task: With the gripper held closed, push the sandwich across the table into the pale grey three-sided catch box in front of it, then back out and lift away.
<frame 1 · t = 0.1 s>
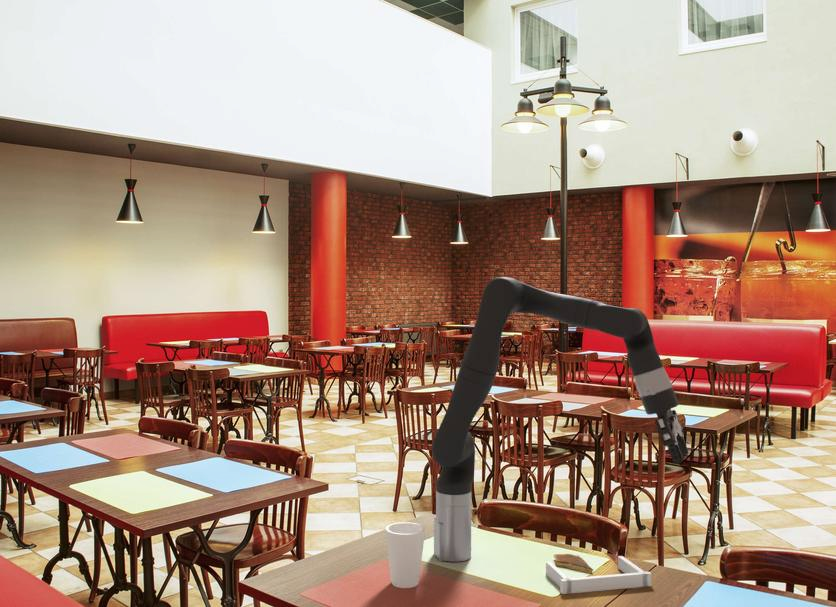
hand: (681, 458, 168), 31 cm above the table, tool tilted 20°, fingers open, 8 cm apart
foam cup: (405, 583, 176), on the table
sandwich: (575, 566, 189), on the table
catch box: (593, 578, 179), on the table
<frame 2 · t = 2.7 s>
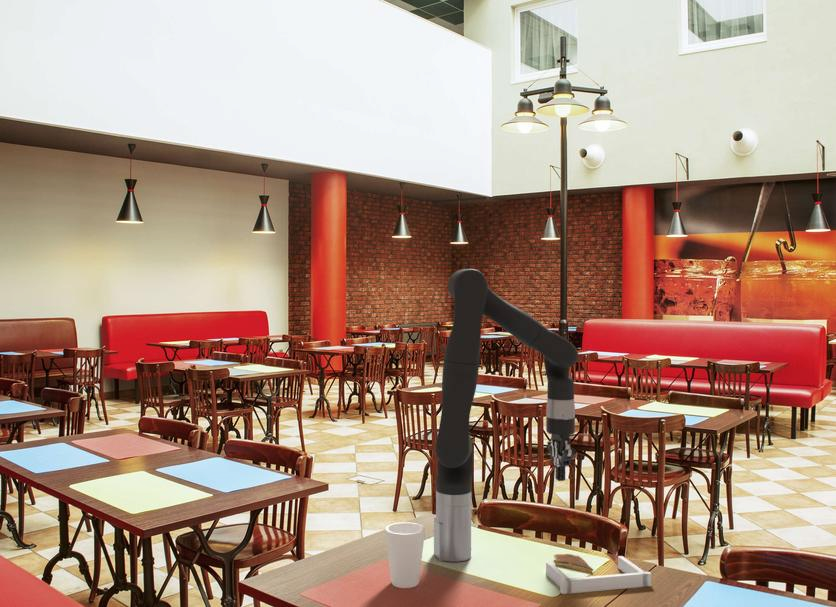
hand: (560, 480, 198), 19 cm above the table, tool pointing down, fingers closed
nothing on the table moved.
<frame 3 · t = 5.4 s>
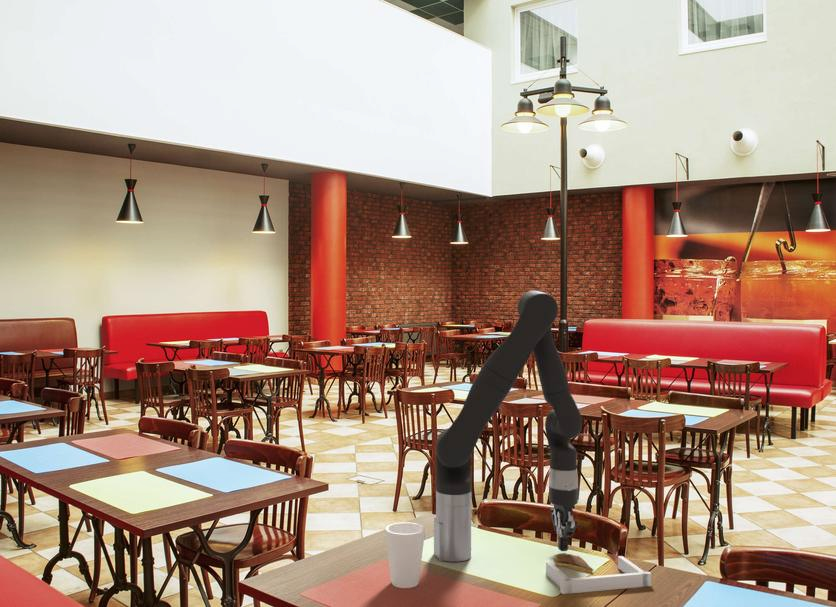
hand: (563, 550, 197), 1 cm above the table, tool pointing down, fingers closed
nothing on the table moved.
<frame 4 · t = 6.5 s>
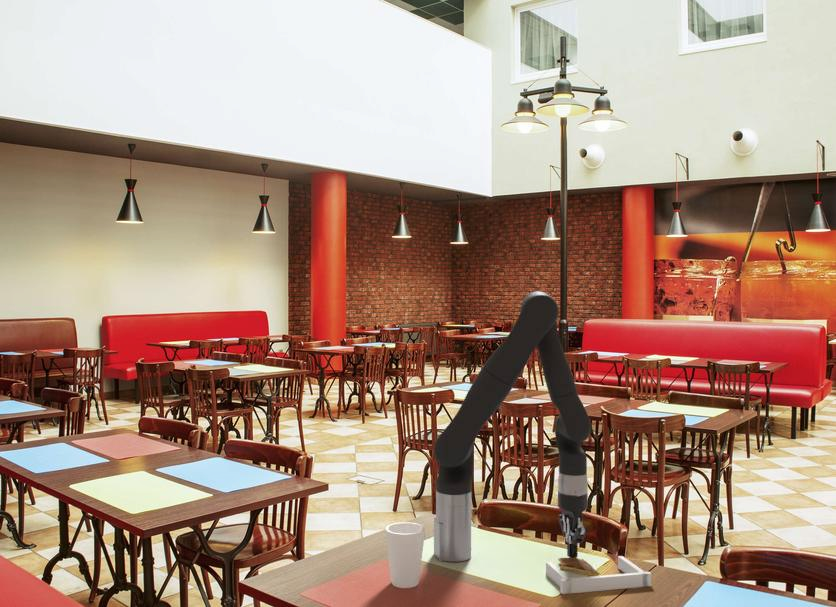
hand: (572, 557, 191), 1 cm above the table, tool pointing down, fingers closed
sandwich: (581, 570, 186), on the table
everything else where it was.
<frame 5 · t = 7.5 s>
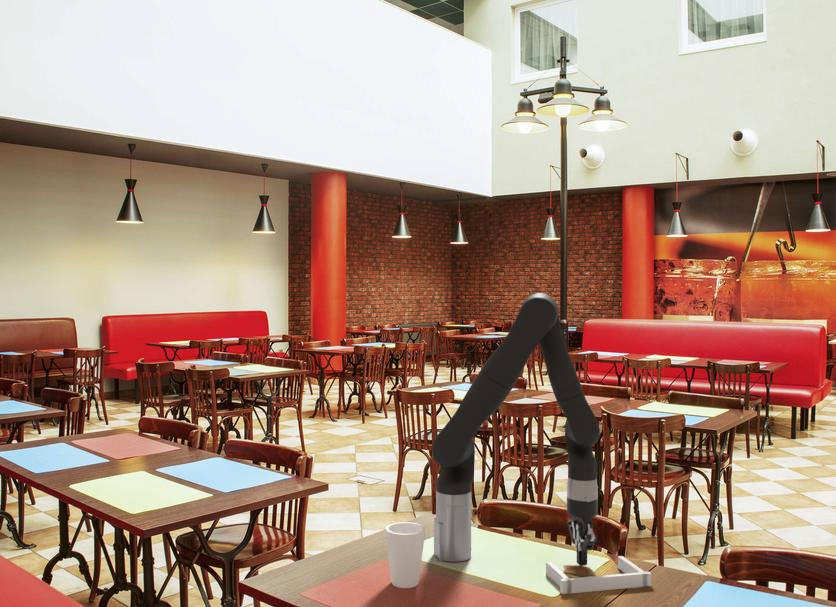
hand: (581, 564, 186), 1 cm above the table, tool pointing down, fingers closed
sandwich: (585, 579, 181), on the table, touching gripper
everything else where it was.
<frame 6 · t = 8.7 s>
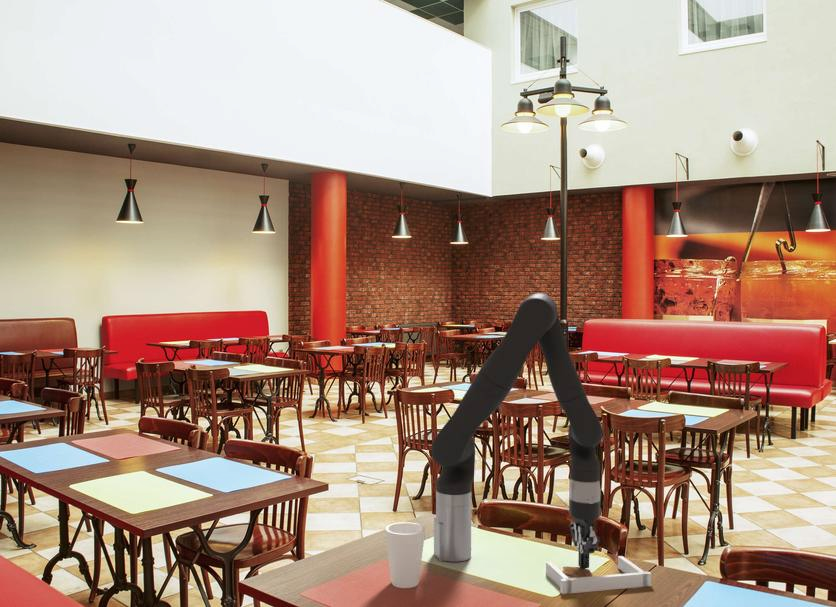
hand: (583, 567, 183), 1 cm above the table, tool pointing down, fingers closed
sandwich: (583, 581, 180), on the table, touching gripper
everything else where it was.
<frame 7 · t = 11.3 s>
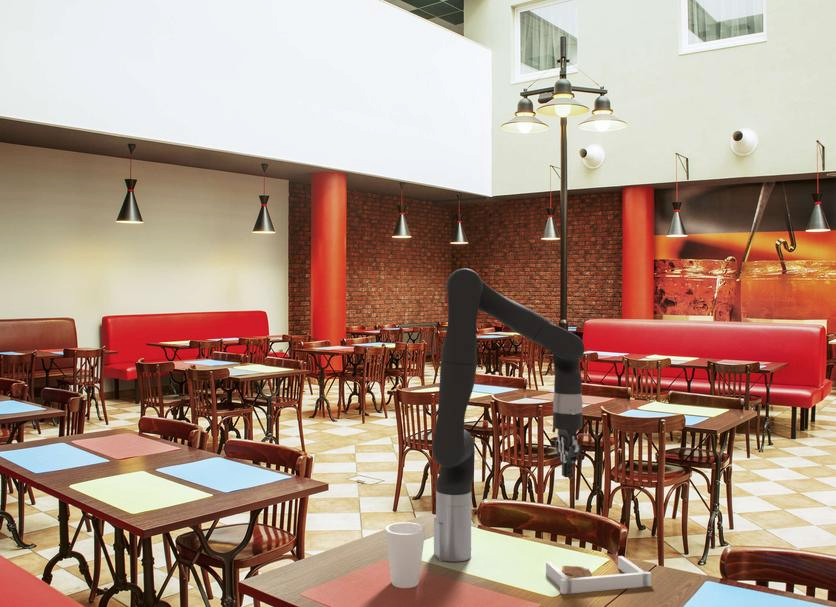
hand: (566, 476, 193), 21 cm above the table, tool pointing down, fingers closed
sandwich: (583, 580, 180), on the table
everything else where it was.
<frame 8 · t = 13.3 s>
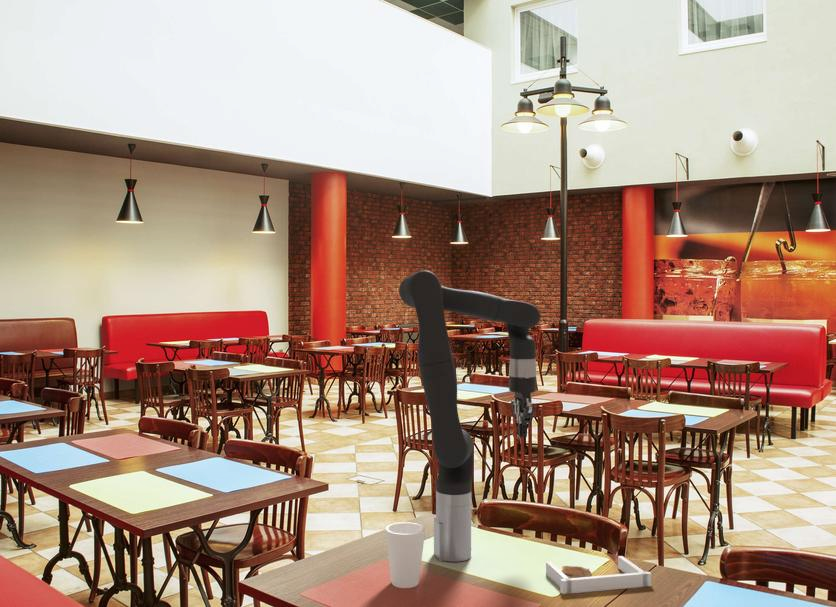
hand: (522, 436, 206), 29 cm above the table, tool pointing down, fingers closed
nothing on the table moved.
at the end: sandwich inside the target area (3.7 cm from its centre), on the table; sandwich moved 9.1 cm from its start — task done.
